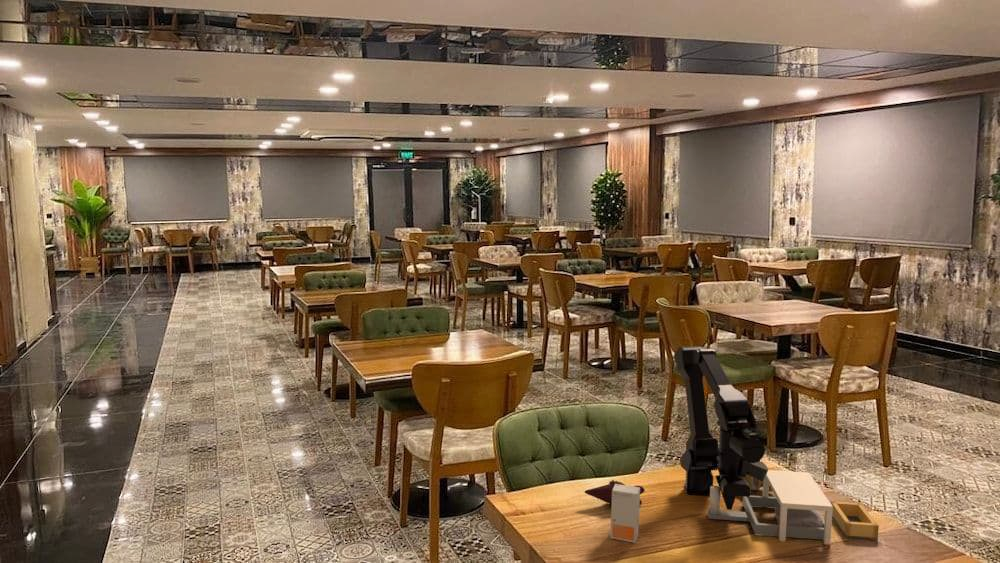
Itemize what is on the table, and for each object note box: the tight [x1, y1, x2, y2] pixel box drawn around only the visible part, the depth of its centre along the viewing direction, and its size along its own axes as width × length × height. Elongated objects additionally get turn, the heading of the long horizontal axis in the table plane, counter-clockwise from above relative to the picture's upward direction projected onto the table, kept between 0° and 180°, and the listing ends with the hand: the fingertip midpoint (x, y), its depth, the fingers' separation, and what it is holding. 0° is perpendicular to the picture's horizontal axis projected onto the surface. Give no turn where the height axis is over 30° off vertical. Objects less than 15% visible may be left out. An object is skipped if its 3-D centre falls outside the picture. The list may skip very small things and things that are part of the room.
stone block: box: [774, 504, 823, 528], centre depth 173 cm, size 12×5×10 cm
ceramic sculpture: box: [739, 474, 773, 493], centre depth 193 cm, size 11×9×15 cm
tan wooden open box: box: [830, 501, 880, 541], centre depth 171 cm, size 7×12×4 cm, turn 171°
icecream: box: [584, 479, 645, 507], centre depth 182 cm, size 7×8×15 cm
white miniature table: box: [762, 469, 833, 546], centre depth 173 cm, size 11×20×9 cm, turn 171°
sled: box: [706, 485, 825, 541], centre depth 174 cm, size 26×17×7 cm, turn 81°
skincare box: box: [610, 484, 641, 544], centre depth 165 cm, size 6×4×12 cm
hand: (729, 508), depth 175 cm, fingers closed
